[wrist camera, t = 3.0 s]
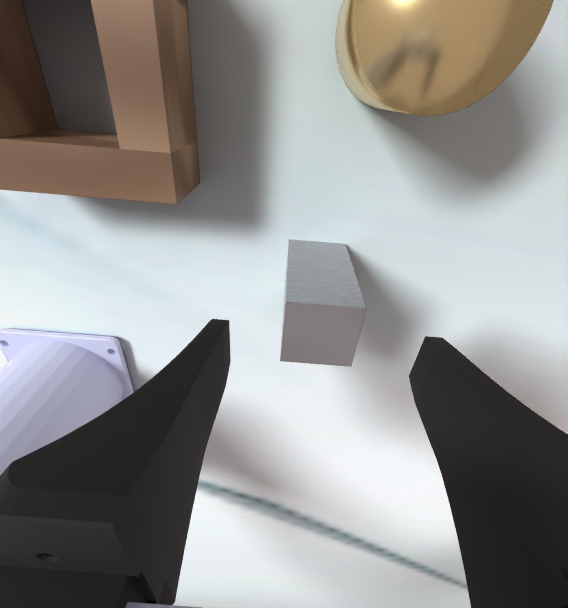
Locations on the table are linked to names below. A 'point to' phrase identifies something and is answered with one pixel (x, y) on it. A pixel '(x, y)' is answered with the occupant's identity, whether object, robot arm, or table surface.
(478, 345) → the table surface
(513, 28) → the round bit
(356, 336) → the square bit
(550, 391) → the table surface
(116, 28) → the block
